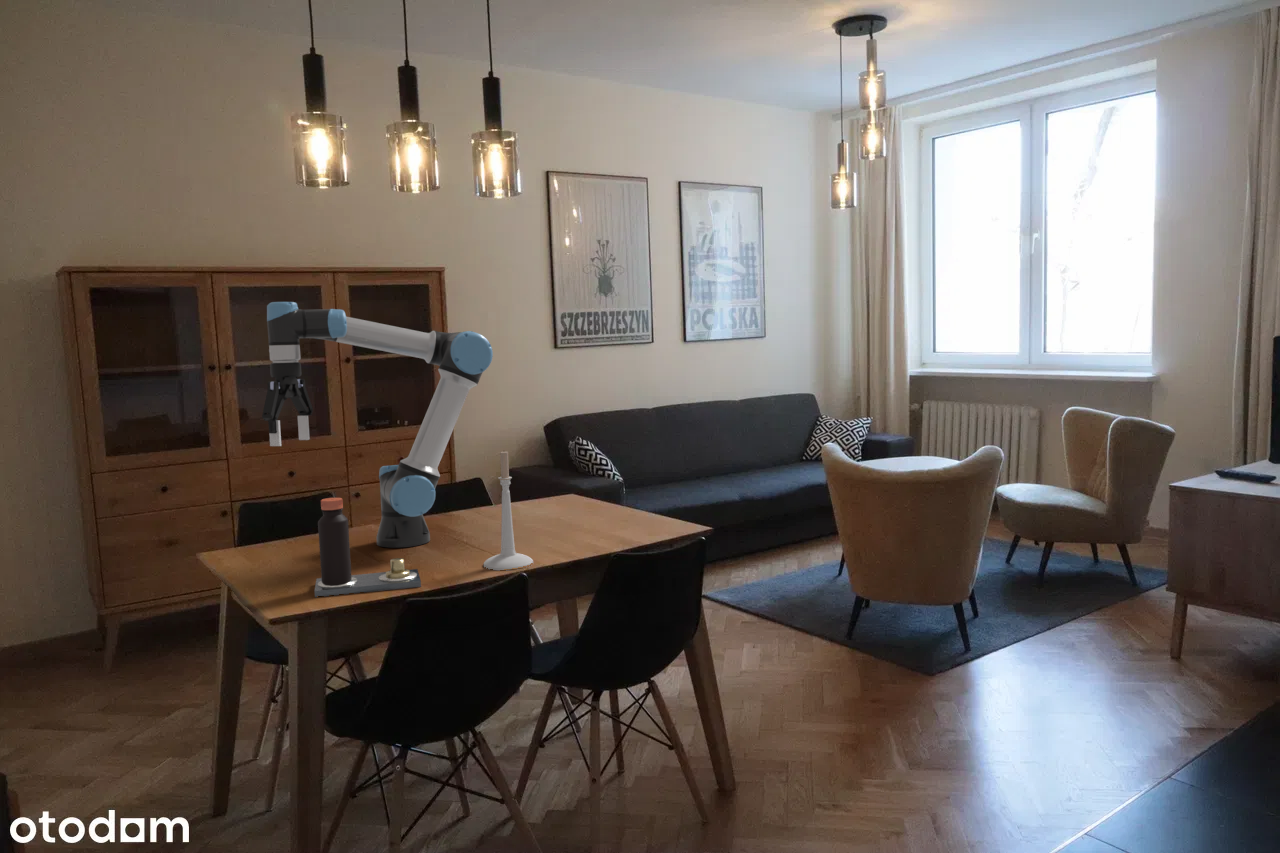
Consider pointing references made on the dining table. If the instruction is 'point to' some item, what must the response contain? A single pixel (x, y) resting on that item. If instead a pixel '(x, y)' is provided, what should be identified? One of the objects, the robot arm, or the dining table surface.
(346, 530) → the vinegar
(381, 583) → the plate
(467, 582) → the dining table surface
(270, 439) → the robot arm
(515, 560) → the candlestick
